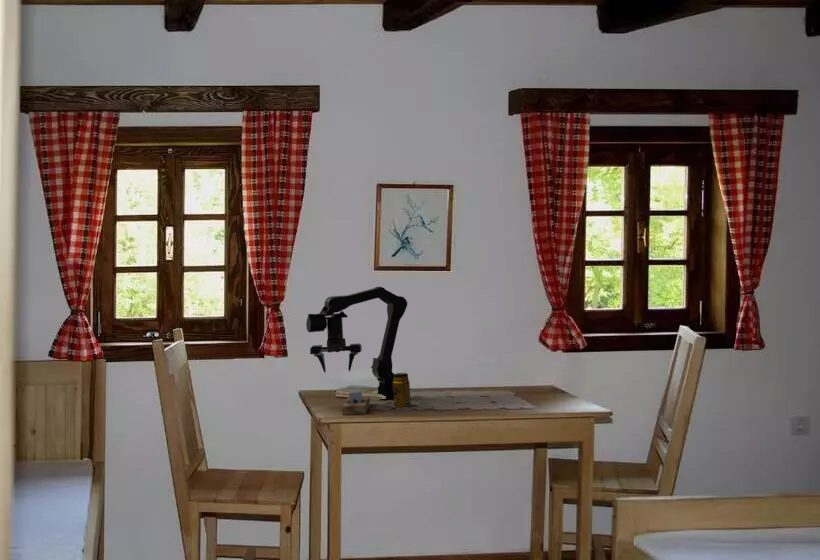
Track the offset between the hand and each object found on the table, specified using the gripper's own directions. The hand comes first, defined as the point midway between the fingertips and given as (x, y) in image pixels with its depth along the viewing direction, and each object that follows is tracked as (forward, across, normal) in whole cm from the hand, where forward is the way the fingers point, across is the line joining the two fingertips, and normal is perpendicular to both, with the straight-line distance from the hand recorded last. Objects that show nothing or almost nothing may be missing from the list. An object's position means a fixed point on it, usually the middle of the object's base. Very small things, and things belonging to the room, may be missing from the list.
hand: (337, 371), depth 391 cm
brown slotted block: (+12, +8, -13) cm, 19 cm away
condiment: (+12, +25, -10) cm, 30 cm away
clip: (+12, +8, -14) cm, 20 cm away
